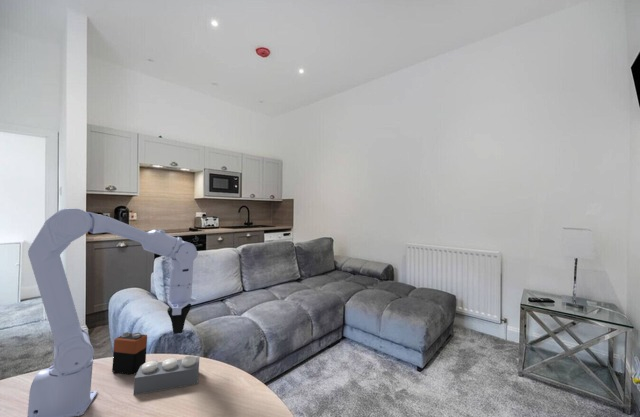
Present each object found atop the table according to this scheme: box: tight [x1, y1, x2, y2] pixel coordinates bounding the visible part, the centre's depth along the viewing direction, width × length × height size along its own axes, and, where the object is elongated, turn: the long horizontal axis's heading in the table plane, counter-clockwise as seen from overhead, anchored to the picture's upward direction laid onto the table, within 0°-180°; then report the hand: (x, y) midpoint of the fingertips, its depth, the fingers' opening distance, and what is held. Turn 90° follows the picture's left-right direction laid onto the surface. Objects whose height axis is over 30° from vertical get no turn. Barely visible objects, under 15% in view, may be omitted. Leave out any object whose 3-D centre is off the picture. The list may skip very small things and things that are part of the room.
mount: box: [132, 356, 200, 396], centre depth 69 cm, size 14×6×4 cm, turn 112°
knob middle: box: [162, 357, 178, 370], centre depth 69 cm, size 3×3×5 cm
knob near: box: [142, 360, 159, 373], centre depth 68 cm, size 3×3×5 cm
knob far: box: [181, 355, 197, 367], centre depth 71 cm, size 3×3×5 cm
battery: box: [111, 331, 148, 376], centre depth 74 cm, size 4×7×10 cm, turn 83°
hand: (178, 332), depth 75 cm, fingers closed
